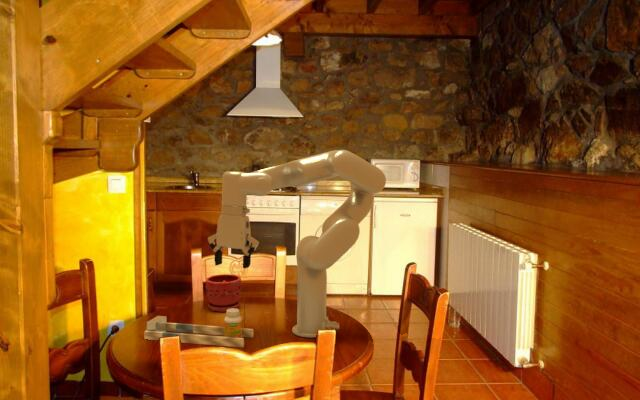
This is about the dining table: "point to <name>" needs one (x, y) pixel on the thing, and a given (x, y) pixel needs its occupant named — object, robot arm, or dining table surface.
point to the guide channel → (160, 327)
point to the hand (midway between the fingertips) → (232, 266)
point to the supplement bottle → (233, 323)
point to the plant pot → (223, 291)
